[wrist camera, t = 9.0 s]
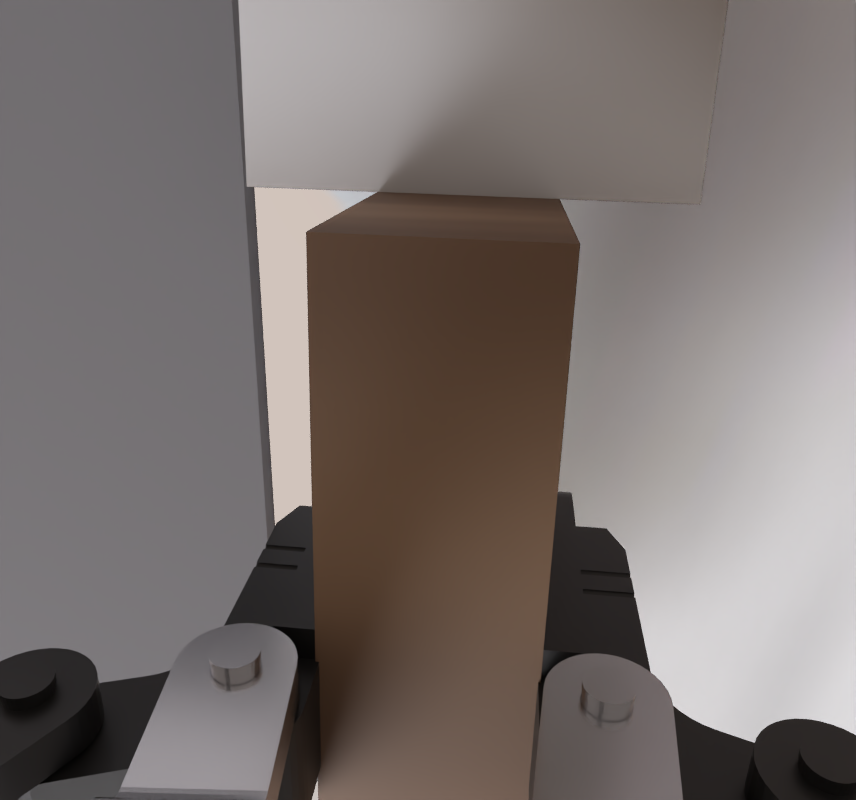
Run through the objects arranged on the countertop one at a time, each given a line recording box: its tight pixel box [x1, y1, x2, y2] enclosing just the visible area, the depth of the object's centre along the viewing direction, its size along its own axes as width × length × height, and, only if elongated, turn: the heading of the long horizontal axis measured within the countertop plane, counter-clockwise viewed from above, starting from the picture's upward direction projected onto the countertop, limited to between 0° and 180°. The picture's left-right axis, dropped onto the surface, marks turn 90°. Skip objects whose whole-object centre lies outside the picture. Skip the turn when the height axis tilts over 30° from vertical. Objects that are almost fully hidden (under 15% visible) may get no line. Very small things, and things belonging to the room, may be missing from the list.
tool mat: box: [0, 0, 275, 683], centre depth 18 cm, size 22×11×1 cm, turn 179°
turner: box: [238, 0, 728, 800], centre depth 10 cm, size 20×6×4 cm, turn 179°
